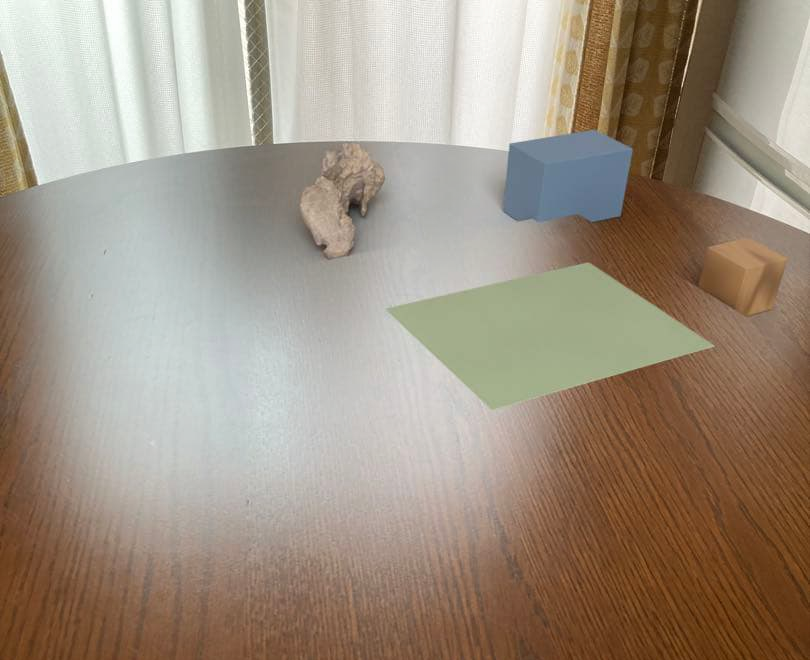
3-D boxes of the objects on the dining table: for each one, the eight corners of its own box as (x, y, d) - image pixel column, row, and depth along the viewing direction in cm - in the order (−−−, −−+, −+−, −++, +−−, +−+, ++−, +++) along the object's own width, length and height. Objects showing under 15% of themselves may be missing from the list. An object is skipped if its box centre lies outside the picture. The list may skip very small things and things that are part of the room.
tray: (586, 274, 81) (588, 261, 80) (711, 359, 71) (715, 345, 70) (384, 322, 74) (384, 308, 73) (490, 424, 63) (492, 409, 62)
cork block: (694, 297, 78) (734, 287, 80) (731, 320, 75) (772, 309, 77) (707, 246, 75) (748, 237, 77) (746, 268, 72) (788, 258, 74)
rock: (285, 253, 82) (280, 173, 78) (335, 196, 93) (333, 121, 88) (347, 262, 81) (346, 181, 77) (391, 203, 92) (392, 128, 87)
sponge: (584, 195, 95) (594, 129, 90) (620, 216, 91) (633, 148, 87) (502, 211, 91) (509, 143, 87) (536, 234, 87) (545, 164, 83)
